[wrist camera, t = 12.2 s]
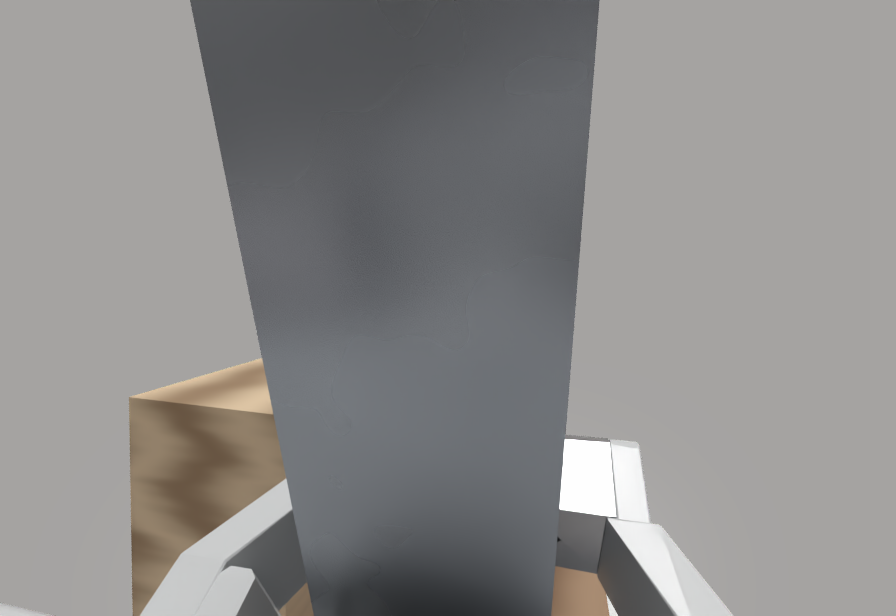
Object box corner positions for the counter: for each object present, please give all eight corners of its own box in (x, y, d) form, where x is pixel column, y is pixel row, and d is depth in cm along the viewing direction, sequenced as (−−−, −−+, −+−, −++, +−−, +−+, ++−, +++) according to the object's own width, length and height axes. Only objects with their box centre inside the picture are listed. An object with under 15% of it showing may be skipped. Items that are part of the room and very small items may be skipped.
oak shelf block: (136, 854, 26) (129, 397, 24) (272, 666, 39) (275, 354, 37) (281, 908, 24) (287, 416, 22) (375, 691, 37) (385, 363, 35)
